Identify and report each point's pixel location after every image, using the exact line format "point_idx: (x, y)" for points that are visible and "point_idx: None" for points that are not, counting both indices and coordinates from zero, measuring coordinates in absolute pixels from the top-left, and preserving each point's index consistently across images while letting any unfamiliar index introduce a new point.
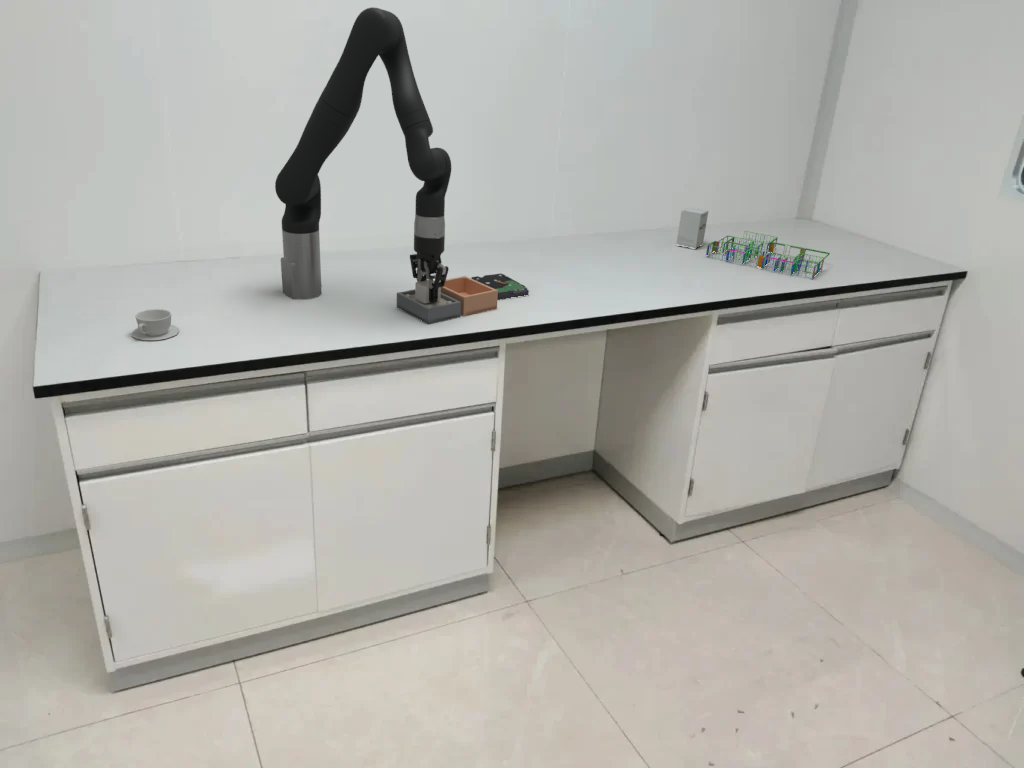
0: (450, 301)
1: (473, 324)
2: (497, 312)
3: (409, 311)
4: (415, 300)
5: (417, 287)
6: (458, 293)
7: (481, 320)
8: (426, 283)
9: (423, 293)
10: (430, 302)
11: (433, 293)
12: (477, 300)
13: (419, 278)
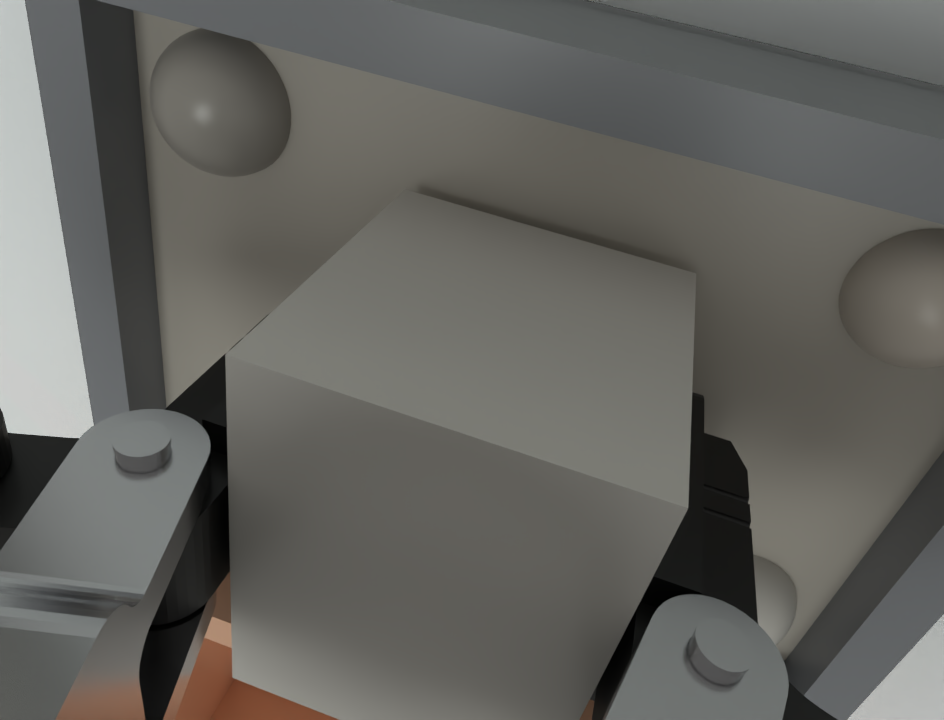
0: None
1: (9, 302)
2: None
3: (692, 34)
4: (691, 264)
5: (592, 396)
6: (225, 640)
7: (69, 420)
8: (413, 578)
9: (355, 275)
10: None
11: (205, 375)
12: None
13: (645, 694)
